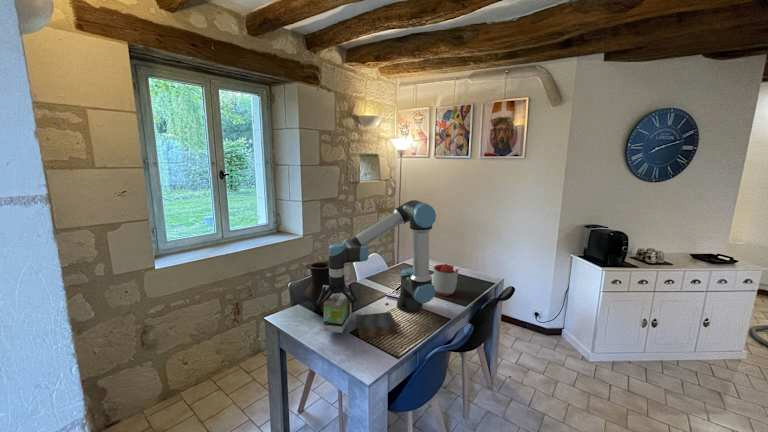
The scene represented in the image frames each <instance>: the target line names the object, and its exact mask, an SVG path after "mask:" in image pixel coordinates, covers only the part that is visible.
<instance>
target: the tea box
mask: <svg viewBox="0 0 768 432" xmlns="http://www.w3.org/2000/svg"><path fill="white" fill-rule="evenodd" d="M347 293H348V294H349V296H350V297H351V298H352V294H351V292H347ZM349 301H350V300H349V299H348V298H347V297H346V296H345V295H344V294H343V293H342V292H341V293H337V294H334V293H333V294H332V295H331V296H330V298H329V299H328V300H326V301H325V302H324V312H323V331H324V332H329V333H337V334H338V333H339V334H340V333H341V334H343V332H344V330H345V328H347V325H348V323H349V322H350V319H351V317H352V314H351V315H350V314H349Z"/></svg>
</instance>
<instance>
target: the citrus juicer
mask: <svg viewBox="0 0 768 432" xmlns="http://www.w3.org/2000/svg"><path fill="white" fill-rule="evenodd" d="M433 269H434V270H433V286H434V288H435V294H437V295H439V296H441V295H443V296H442V297H450V296H449V295H451V296H453V295H454V293H455V291H456V288H457V284H458V276H460V274H459V269H455V270H454V266H453V265H451V264H447V263H446V264H445V263H444V264H436V265H434V267H433ZM452 294H453V295H452Z"/></svg>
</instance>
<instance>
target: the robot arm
mask: <svg viewBox="0 0 768 432" xmlns="http://www.w3.org/2000/svg"><path fill="white" fill-rule="evenodd" d="M436 218H437V213H436V211H435V209H434V207H433V206H431V205H430V204H429V203H426V202H422V201H419V200H415V199H414V200H408V201H407V202H404V203H403V204H401V205H399V206H397V207H396V208H394V209H393V212H391V213H390V214H389V215H387V216H386V217H383V218H381V220H379V221H377V222H376V223H373V224H372V225H371V226H369V227H368V228H366V229H365V230H363V231H361V232H359V233H358V234H356V235H355V236H354V237H352V238H346V239H345V238H344V240H343V241H342V243H332V244H330V245H329V246H328V261H329V275H330V276H329V286H325V285H323V290H322V292H321V294H320V297H319V299H318V301H317V304H318V305H321V311H322V312H323V311H324V302H325V301H326V300H328V299H329V298H330V296H331V295H332V294H333V293H334V294H337V293H341V292H342V293H343V294H344V295H345V296H346V297H347V298H348V299H349V300H350V301H349V314H350V315H351V316H352V309H353V308H354V303H355V302H357V301H358V299H357V297H356V294H355V292H354V290H353V288H352V284H351V282H347V283H345V279H346V278H345V277H346V276H345V264H351V263H363V262H366V261H369V255H370V254H369V249H368V247H367V246H368V245H371V244H372V242H374V241H376V240H377V239H379V238H381V237H383V236H384V235H385V234H387V233H389V232H390V231H392V230H394V229H395V228H396V227H398V226H399V225H405V224H406V223H408V222H409V229H410V230H411V231H412V267H410V268H404V269H402V270H401V272H400V292H399V296H398V299H397V300H396V308H397V309H399V310H400V311H402V312H404V313H405V312H406V313H417V312H420V311H421V310H422V309H423V304H427V303H429V302H431V300H433V299H434V297H435V295H436V292H435V288H434V284H433V283H432V281H433V280H432V279H433V277H432V275H431V274H430V231H431V230H432V229H433V225H434V223H435V221H436ZM328 288H329V289H330V291H329V292H328V294H327V295H326V296H325V298H324V299H323V296H324V294H325V291H326V290H327V289H328ZM345 288H347V289H348V290H349V292H347V291H346V290H345ZM348 293H351V297H350V296H349V294H348ZM322 299H323V300H322ZM321 301H322V302H321ZM322 312H321V313H322ZM323 313H324V312H323Z"/></svg>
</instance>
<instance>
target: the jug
mask: <svg viewBox="0 0 768 432" xmlns="http://www.w3.org/2000/svg"><path fill="white" fill-rule="evenodd" d="M305 267H306V269H309V270H310V273H311V283H310V285H309V286H308V287H307V288H306V289H305V292H304V296H305V298H306V299H307V300H308V301H309V302H310V303H311V310H312V311H314V312H318V313H322V311H321V305H318V304H317V301H318V299H319V297H320V294H321V292H322V290H323V285H325V286H329V276H330V275H329V260H327V259H326V260H324V259H322V260H320V259H319V260H314V261H311V262H308V263H307V264H306V265H305ZM329 291H330V289H329V288H328V289H327V290H326V291H325V294H324V296H323V299H324V298H325V296H326V295H327V294H328V292H329ZM323 299H322V300H323ZM321 302H322V301H321ZM323 313H324V311H323Z"/></svg>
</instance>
